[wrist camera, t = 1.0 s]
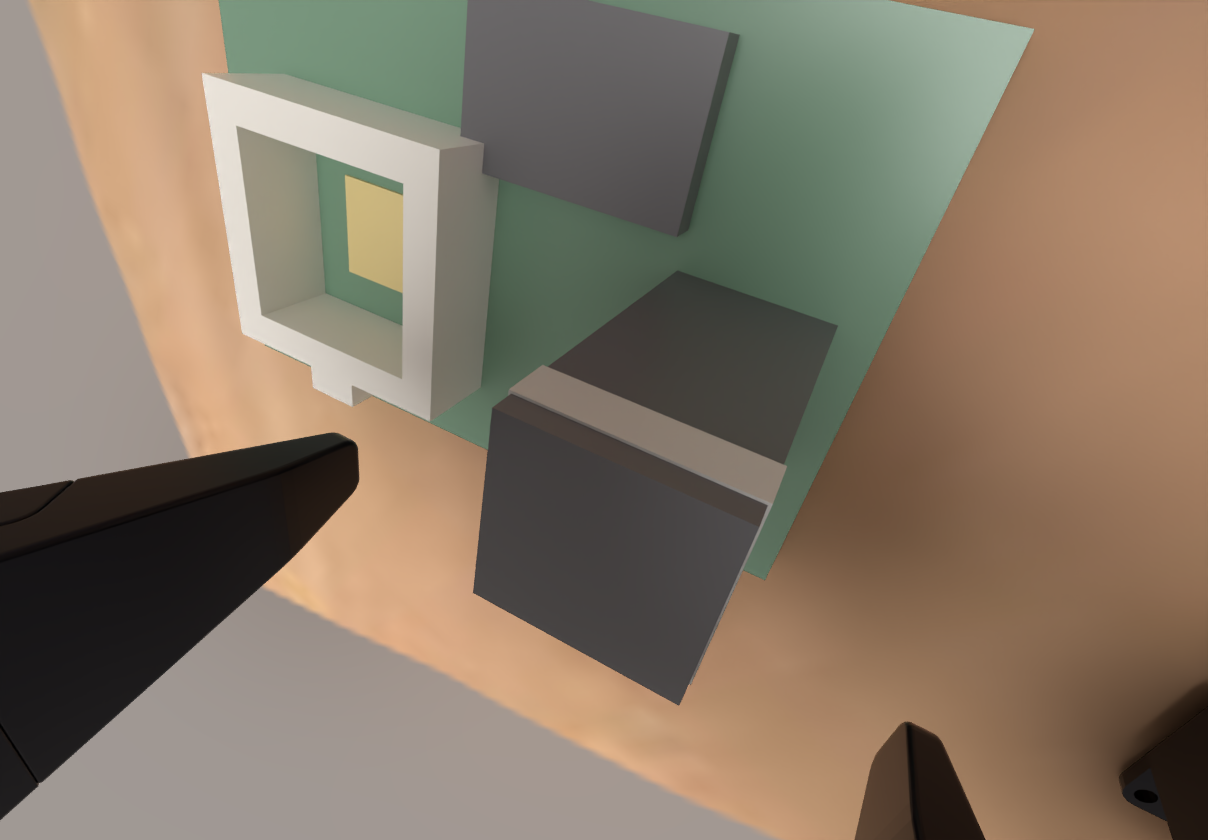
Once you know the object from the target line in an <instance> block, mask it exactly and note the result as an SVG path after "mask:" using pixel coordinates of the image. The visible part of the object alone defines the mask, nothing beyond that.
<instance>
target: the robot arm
mask: <svg viewBox="0 0 1208 840" xmlns="http://www.w3.org/2000/svg"><path fill="white" fill-rule="evenodd" d="M358 482H359V460H358V447H357V445H356V443H355V442H354V441H353V440H351V439H349V438H347V437H345V436H343V435H341V434H338V433H326V434H321V435H315V436H310V437H304V438H299V439H293V440H288V441H283V442H277V443H272V444H266V445H261V446H255V447H250V448H244V449H239V450H233V451H228V452H222V453H217V454H211V455H206V456H200V457H195V458H190V459H184V460H179V461H173V462H168V463H162V464H157V465H151V466H146V467H140V468H135V469H129V470H124V471H118V472H113V473H108V474H102V475H96V476H91V477H86V478H80V479H77V480H76V481H71V480H69V481H63V482H58V483H53V484H47V485H42V486H36V487H30V488H24V489H18V490H13V491H6V492H1V493H0V820H1V819H2V818H3V817H4V816H5V815H7V814H8V813H9V812H10V811H11V810H12V809H13V808H14V807H16V806H17V805H18V804H19V803H20V802H21V801H22V800H23V799H24V798H25V797H27V796H28V795H29V794H30V793H31V792H32V791H33V790H35V788H37V787H38V785H39V783H41V782H43V781H44V780H45V779H46V778H47V777H49V776H50V775H51V774H52V773H53V772H54V771H55V770H56V769H58V768H59V767H60V766H61V765H62V764H63V763H64V762H65V761H66V760H68V759H69V758H70V757H71V756H72V755H73V754H74V753H75V752H77V751H78V750H79V749H80V748H81V747H82V746H83V745H84V744H86V743H87V742H88V740H90V739H91V738H92V737H93V736H94V735H96V734H97V733H98V732H99V731H100V730H101V729H102V728H103V727H105V726H106V725H107V724H108V723H109V722H110V721H111V720H112V719H114V718H115V717H116V716H117V715H118V714H119V713H120V712H121V711H122V710H123V709H124V708H126V707H127V706H128V705H129V704H130V703H131V702H133V701H134V700H135V699H136V698H137V697H138V696H139V695H140V694H142V693H143V692H144V691H145V690H146V689H147V688H148V687H149V686H150V685H152V684H153V683H154V682H155V681H156V680H157V679H158V678H159V677H161V676H162V675H163V674H164V673H165V672H166V671H167V670H168V669H169V668H171V667H172V666H173V665H174V664H175V663H176V662H177V661H178V660H179V659H181V658H182V657H183V656H184V655H185V654H186V653H187V652H188V651H190V650H191V649H192V648H193V647H194V646H195V645H196V644H197V643H199V642H200V641H201V640H202V639H203V638H204V637H205V636H206V635H208V634H209V633H210V632H211V631H212V630H213V629H214V628H215V627H216V626H217V625H219V624H220V623H221V622H222V621H223V620H224V619H225V618H227V617H228V616H229V615H230V614H231V613H232V612H233V611H234V610H236V608H238V607H239V606H240V605H241V604H242V603H243V602H244V601H246V600H247V599H248V598H249V597H250V596H251V595H252V594H253V593H255V592H256V591H257V590H258V589H259V588H260V587H261V586H262V585H263V584H265V583H266V582H267V581H268V580H269V579H270V578H271V577H272V576H274V575H275V574H276V573H277V572H278V571H279V570H280V569H281V568H282V567H284V566H285V565H286V564H287V563H288V562H289V561H290V560H291V559H292V558H293V557H294V556H295V555H296V554H297V553H298V552H299V551H300V550H301V549H302V548H303V547H304V546H305V545H306V543H307V542H308V541H309V540H310V539H311V538H312V537H313V536H314V535H315V534H316V533H317V532H318V530H319V529H320V528H321V527H322V526H323V525H324V524H325V523H326V522H327V521H328V520H329V519H330V517H331V516H332V515H333V514H334V513H335V512H336V511H337V510H338V509H339V508H340V507H341V506H342V504H343V503H344V502H345V501H346V500H347V499H348V498H349V497H350V496H351V495H352V494H353V492H354V491H355V489H356V488H357V485H358ZM1119 783H1120V786H1121V790H1122V794H1123V796H1124V798H1125V799H1126V800H1127V801H1128V802H1130V803H1131V804H1133V805H1135V806H1137V807H1139V808H1141V809H1143V810H1145V811H1147V812H1149V813H1151V814H1153V815H1155V816H1157V817H1159V818H1161V819H1163V820H1165V821H1167V822H1168V826H1169V829H1170V832H1171V835H1172V838H1173V840H1208V707H1207V708H1206V709H1204V710H1203V711H1202V712H1200V713H1199V714H1198V715H1196V716H1195V717H1194V718H1193V719H1191V720H1190V721H1189V722H1187V723H1186V724H1185V725H1184V726H1182V727H1181V728H1180V729H1178V730H1177V731H1176V732H1174V733H1173V734H1172V735H1171V736H1169V737H1168V738H1167V739H1165V740H1164V741H1163V742H1161V743H1160V744H1159V745H1158V746H1156V747H1155V748H1154V749H1152V750H1151V751H1150V752H1149V753H1147V754H1146V755H1145V756H1144V757H1142V758H1141V759H1140V760H1138V761H1137V762H1136V763H1134V764H1133V765H1132V766H1131V767H1129V768H1128V769H1127V770H1125V771H1124V772H1123V773H1122V774H1121V775H1120V777H1119ZM855 840H985V838H984V835H983V833H982V831H981V829H980V826H979V824H978V822H977V819H976V817H975V815H974V813H973V810H972V808H971V806H970V804H969V801H968V799H967V797H966V795H965V792H964V790H963V788H962V786H961V783H960V781H959V779H958V777H957V774H956V772H955V770H954V768H953V765H952V763H951V761H950V759H949V756H948V754H947V752H946V750H945V747H944V745H943V743H942V741H941V740H940V739H939V737H938V736H936V735H935V734H933V733H931V732H929V731H927V730H925V729H924V728H922V727H920V726H918V725H916V724H914V723H912V722H908V721H907V722H903V723H902V724H900V725H899V727H898V728H897V729H896V730H895V731H894V733H893V734H892V735H891V736H890V737H889V739H888V740H887V741H886V742H885V744H884V745H883V746H882V747H881V748H880V750H879V751H878V752H877V754H876V756H875V758H874V760H873V762H872V765H871V769H870V773H869V777H868V782H867V786H866V791H865V795H864V800H863V804H862V809H861V813H860V818H859V822H858V827H857V831H856V836H855Z"/></svg>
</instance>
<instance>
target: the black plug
mask: <svg viewBox="0 0 1208 840" xmlns="http://www.w3.org/2000/svg"><path fill="white" fill-rule="evenodd" d="M837 327H838V325H835V324H832V323H829V322H826V321H823V320H820V319H817V318H814V317H812V316H809V315H806V314H803V313H800V312H797V311H794V310H791V309H788V308H785V307H782V306H780V305H777V304H774V303H771V302H768V301H765V300H762V299H759V298H756V297H753V296H750V295H748V294H745V293H742V292H739V291H736V290H733V289H730V288H727V287H724V286H721V285H718V284H715V283H713V282H710V281H707V280H704V279H701V278H698V277H695V276H692V275H689V274H686V273H683V272H681V271H678V270H677V271H676V272H675V273H673V274H672V275H671V276H669V277H668V278H667V279H665V280H664V281H663V282H661V283H660V284H658V285H657V286H656V287H654V288H653V289H652V290H650V291H649V292H648V293H646V294H645V295H644V296H642V297H641V298H640V299H638V300H637V301H636V302H634V303H633V304H631V305H630V306H629V307H627V308H626V309H625V310H623V311H622V312H621V313H619V314H618V315H617V316H615V317H614V318H613V319H611V320H610V321H609V322H607V323H606V324H604V325H603V326H602V327H600V328H599V329H598V330H596V331H595V332H594V333H592V334H591V335H590V336H588V337H587V338H586V339H584V340H583V341H581V342H580V343H579V344H577V345H576V346H575V347H573V348H572V349H571V350H569V351H568V352H567V353H565V354H564V355H563V356H561V357H560V358H559V359H557V360H556V361H554V362H553V363H552V364H550V365H549V366H548V367H547V366H544V365H542V366H540V367H539V368H538V369H536V370H535V371H533V372H532V373H531V374H529V375H528V376H527V377H525V378H524V379H522V380H521V381H520V382H518V383H517V384H516V385H514V386H513V387H511V388H510V389H509V391H508V396H507V397H506V398H504V399H503V400H502V401H500V402H499V403H498V404H496V405H495V406H494V407H492V414H491V424H490V433H489V443H488V453H487V463H486V472H485V482H484V492H483V502H482V511H481V521H480V531H479V541H478V550H477V560H476V570H475V580H474V590H473V593H474V594H476V595H478V596H480V597H482V598H484V599H485V600H487V601H489V602H491V603H493V604H495V605H496V606H498V607H500V608H502V609H504V610H505V611H507V612H509V613H511V614H513V615H515V616H516V617H518V618H520V619H522V620H524V621H526V622H527V623H529V624H531V625H533V626H535V627H536V628H538V629H540V630H542V631H544V632H546V633H547V634H549V635H551V636H553V637H555V638H557V639H558V640H560V641H562V642H564V643H566V644H567V645H569V646H571V647H573V648H575V649H577V650H578V651H580V652H582V653H584V654H586V655H588V656H589V657H591V658H593V659H595V660H597V661H598V662H600V663H602V664H604V665H606V666H608V667H609V668H611V669H613V670H615V671H617V672H619V673H620V674H622V675H624V676H626V677H628V678H629V679H631V680H633V681H635V682H637V683H639V684H640V685H642V686H644V687H646V688H648V689H650V690H651V691H653V692H655V693H657V694H659V695H660V696H662V697H664V698H666V699H668V700H670V701H671V702H673V703H675V704H677V705H680V702H681V700H682V698H683V696H684V694H685V691H686V689H687V687H688V685H689V684H690V685H691V683H692V681H693V679H694V677H695V675H696V672H697V670H698V668H699V666H700V664H701V661H702V659H703V657H704V655H705V653H706V650H707V648H708V646H709V644H710V641H711V639H712V637H713V635H714V633H715V630H716V628H717V626H718V624H719V622H720V619H721V617H722V615H723V613H724V611H725V608H726V606H727V604H728V602H729V600H730V597H731V595H732V593H733V591H734V589H735V586H736V584H737V582H738V580H739V578H740V575H741V573H742V571H743V569H744V567H745V564H746V562H747V560H748V558H749V556H750V553H751V551H752V549H753V547H754V545H755V542H756V540H757V538H758V536H759V534H760V531H761V529H762V527H763V525H764V523H765V520H766V518H767V516H768V514H769V512H770V509H771V507H772V505H773V502H774V500H775V497H776V495H777V492H778V489H779V487H780V484H781V481H782V479H783V476H784V473H785V471H786V468H787V466H786V465H784V463H785V460H786V458H787V455H788V453H789V450H790V448H791V445H792V442H793V440H794V437H795V435H796V432H797V430H798V427H799V424H800V422H801V419H802V417H803V414H804V412H805V409H806V407H807V404H808V401H809V399H810V396H811V394H812V391H813V389H814V386H815V384H816V381H817V378H818V376H819V373H820V371H821V368H822V366H823V363H824V360H825V358H826V355H827V353H828V350H829V348H830V345H831V343H832V340H833V337H834V335H835V332H836V330H837Z"/></svg>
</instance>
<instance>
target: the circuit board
mask: <svg viewBox="0 0 1208 840" xmlns="http://www.w3.org/2000/svg"><path fill="white" fill-rule="evenodd" d="M219 7H220V14H221V21H222V29H223V36H224V44H225V51H226V59H227V66H228V73H202V78H203V85H204V91H205V98H206V104H207V110H208V117H209V123H210V130H211V136H212V143H213V149H214V155H215V162H216V168H217V175H218V181H219V188H220V194H221V200H222V207H223V213H224V220H225V226H226V232H227V239H228V245H229V252H230V258H231V265H232V271H233V277H234V284H235V290H236V297H237V303H238V310H239V316H240V322H241V329H242V334H244V335H246V336H249V337H251V338H253V339H255V340H257V341H259V342H261V343H263V344H265V346H268V347H270V348H272V349H274V350H276V351H278V352H280V353H283V354H285V355H287V356H289V357H291V358H293V359H295V360H297V361H300V362H302V363H304V364H306V365H308V366H310V367H311V370H312V381H313V388H314V389H316V390H319V391H321V392H323V393H325V394H327V395H329V396H331V397H333V398H335V399H337V400H339V401H341V402H343V403H346V404H348V405H350V406H352V407H353V406H355V405H357V404H359V403H361V402H362V401H364V400H366V399H368V398H369V397H371V396H374V397H376V398H378V399H380V400H382V401H385V402H387V403H389V404H391V405H393V406H395V407H397V408H399V409H402V410H404V411H406V412H408V413H410V414H412V415H414V416H416V417H419V418H421V419H423V420H425V421H427V422H429V423H431V424H434V425H436V426H438V427H440V428H442V429H444V430H446V431H448V432H451V433H453V434H455V435H457V436H459V437H461V438H463V439H465V440H468V441H470V442H472V443H474V444H476V445H478V446H480V447H482V448H485V449H487V450H488V443H489V433H490V424H491V414H492V407H494V406H495V405H496V404H498V403H499V402H500V401H502V400H503V399H504V398H506V397H507V396H508V391H509V389H510V388H511V387H513V386H514V385H516V384H517V383H518V382H520V381H521V380H522V379H524V378H525V377H527V376H528V375H529V374H531V373H532V372H533V371H535V370H536V369H538V368H539V367H540V366H542V365H544V366H547V367H548V366H549V365H550V364H552V363H553V362H554V361H556V360H557V359H559V358H560V357H561V356H563V355H564V354H565V353H567V352H568V351H569V350H571V349H572V348H573V347H575V346H576V345H577V344H579V343H580V342H581V341H583V340H584V339H586V338H587V337H588V336H590V335H591V334H592V333H594V332H595V331H596V330H598V329H599V328H600V327H602V326H603V325H604V324H606V323H607V322H609V321H610V320H611V319H613V318H614V317H615V316H617V315H618V314H619V313H621V312H622V311H623V310H625V309H626V308H627V307H629V306H630V305H631V304H633V303H634V302H636V301H637V300H638V299H640V298H641V297H642V296H644V295H645V294H646V293H648V292H649V291H650V290H652V289H653V288H654V287H656V286H657V285H658V284H660V283H661V282H663V281H664V280H665V279H667V278H668V277H669V276H671V275H672V274H673V273H675V272H676V271H677V270H678V271H681V272H683V273H686V274H689V275H692V276H695V277H698V278H701V279H704V280H707V281H710V282H713V283H715V284H718V285H721V286H724V287H727V288H730V289H733V290H736V291H739V292H742V293H745V294H748V295H750V296H753V297H756V298H759V299H762V300H765V301H768V302H771V303H774V304H777V305H780V306H782V307H785V308H788V309H791V310H794V311H797V312H800V313H803V314H806V315H809V316H812V317H814V318H817V319H820V320H823V321H826V322H829V323H832V324H835V325H838V327H837V330H836V332H835V335H834V337H833V340H832V343H831V345H830V348H829V350H828V353H827V355H826V358H825V360H824V363H823V366H822V368H821V371H820V373H819V376H818V378H817V381H816V384H815V386H814V389H813V391H812V394H811V396H810V399H809V401H808V404H807V407H806V409H805V412H804V414H803V417H802V419H801V422H800V424H799V427H798V430H797V432H796V435H795V437H794V440H793V442H792V445H791V448H790V450H789V453H788V455H787V458H786V460H785V463H784V465H786V466H787V468H786V471H785V473H784V476H783V479H782V481H781V484H780V487H779V489H778V492H777V495H776V497H775V500H774V502H773V505H772V507H771V509H770V512H769V514H768V516H767V518H766V520H765V523H764V525H763V527H762V529H761V531H760V534H759V536H758V538H757V540H756V542H755V545H754V547H753V549H752V551H751V553H750V556H749V558H748V560H747V562H746V564H745V567H744V569H743V570H744V571H746V572H748V573H750V574H753V575H755V576H757V577H759V578H761V579H763V580H765V579H766V577H767V575H768V573H769V571H770V569H771V567H772V565H773V563H774V561H775V559H776V557H777V555H778V552H779V550H780V548H781V546H782V544H783V542H784V540H785V538H786V536H787V534H788V532H789V530H790V528H791V526H792V524H793V522H794V520H795V518H796V516H797V514H798V512H799V510H800V508H801V505H802V503H803V501H804V499H805V497H806V495H807V493H808V491H809V489H810V487H811V485H812V483H813V481H814V479H815V477H816V475H817V473H818V471H819V469H820V467H821V465H822V463H823V461H824V458H825V456H826V454H827V452H828V450H829V448H830V446H831V444H832V442H833V440H834V438H835V436H836V434H837V432H838V430H839V428H840V426H841V424H842V422H843V420H844V418H845V416H846V414H847V411H848V409H849V407H850V405H851V403H852V401H853V399H854V397H855V395H856V393H857V391H858V389H859V387H860V385H861V383H862V381H863V379H864V377H865V375H866V373H867V371H868V369H869V367H870V364H871V362H872V360H873V358H874V356H875V354H876V352H877V350H878V348H879V346H880V344H881V342H882V340H883V338H884V336H885V334H886V332H887V330H888V328H889V326H890V324H891V322H892V320H893V317H894V315H895V313H896V311H897V309H898V307H899V305H900V303H901V301H902V299H903V297H904V295H905V293H906V291H907V289H908V287H909V285H910V283H911V281H912V279H913V277H914V275H915V273H916V271H917V268H918V266H919V264H920V262H921V260H922V258H923V256H924V254H925V252H926V250H927V248H928V246H929V244H930V242H931V240H932V238H933V236H934V234H935V232H936V230H937V228H938V226H939V224H940V221H941V219H942V217H943V215H944V213H945V211H946V209H947V207H948V205H949V203H950V201H951V199H952V197H953V195H954V193H955V191H956V189H957V187H958V185H959V183H960V181H961V179H962V177H963V174H964V172H965V170H966V168H967V166H968V164H969V162H970V160H971V158H972V156H973V154H974V152H975V150H976V148H977V146H978V144H979V142H980V140H981V138H982V136H983V134H984V132H985V130H986V127H987V125H988V123H989V121H990V119H991V117H992V115H993V113H994V111H995V109H996V107H997V105H998V103H999V101H1000V99H1001V97H1002V95H1003V93H1004V91H1005V89H1006V87H1007V85H1008V83H1009V80H1010V78H1011V76H1012V74H1013V72H1014V70H1015V68H1016V66H1017V64H1018V62H1019V60H1020V58H1021V56H1022V54H1023V52H1024V50H1025V48H1026V46H1027V44H1028V42H1029V40H1030V38H1031V36H1032V33H1033V31H1034V29H1032V28H1027V27H1021V26H1016V25H1011V24H1006V23H1001V22H996V21H991V20H986V19H981V18H976V17H971V16H965V15H960V14H955V13H950V12H945V11H940V10H935V9H930V8H925V7H920V6H915V5H910V4H904V3H899V2H894V1H889V0H219Z"/></svg>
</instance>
